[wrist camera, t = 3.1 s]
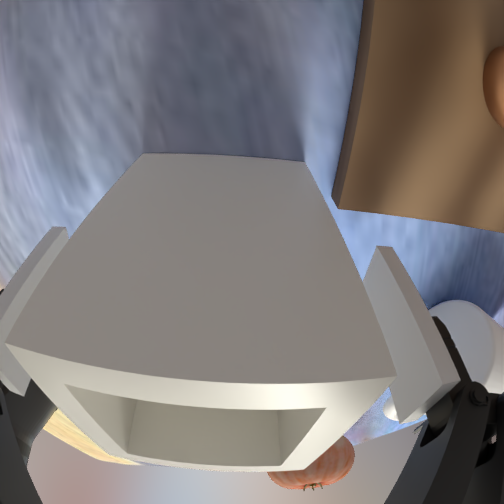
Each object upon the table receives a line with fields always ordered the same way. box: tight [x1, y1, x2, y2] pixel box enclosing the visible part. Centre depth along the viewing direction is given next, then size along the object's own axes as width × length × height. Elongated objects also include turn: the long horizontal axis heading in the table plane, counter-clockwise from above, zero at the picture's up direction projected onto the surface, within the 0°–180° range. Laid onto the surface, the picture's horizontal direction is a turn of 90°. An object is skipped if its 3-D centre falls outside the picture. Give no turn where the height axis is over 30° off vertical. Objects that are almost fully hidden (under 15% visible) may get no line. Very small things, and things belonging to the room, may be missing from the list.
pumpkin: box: [267, 435, 355, 490], centre depth 29 cm, size 11×11×8 cm
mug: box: [383, 300, 504, 421], centre depth 18 cm, size 12×10×8 cm
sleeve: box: [5, 153, 397, 472], centre depth 10 cm, size 7×7×10 cm
